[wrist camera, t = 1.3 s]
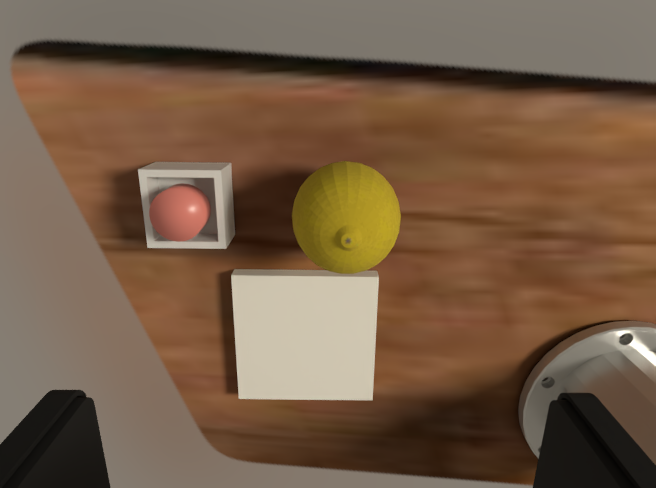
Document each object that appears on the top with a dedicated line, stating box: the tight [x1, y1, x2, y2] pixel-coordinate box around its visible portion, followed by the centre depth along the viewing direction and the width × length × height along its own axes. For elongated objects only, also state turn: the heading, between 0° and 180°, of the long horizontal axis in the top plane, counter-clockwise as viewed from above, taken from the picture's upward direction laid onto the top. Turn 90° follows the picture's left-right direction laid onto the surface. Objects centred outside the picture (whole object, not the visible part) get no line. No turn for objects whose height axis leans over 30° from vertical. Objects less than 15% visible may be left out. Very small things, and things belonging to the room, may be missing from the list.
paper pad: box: [231, 269, 379, 400], centre depth 30 cm, size 9×9×1 cm
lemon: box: [292, 161, 401, 274], centre depth 24 cm, size 6×6×8 cm
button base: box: [138, 162, 235, 249], centre depth 26 cm, size 4×4×3 cm
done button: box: [149, 183, 211, 242], centre depth 25 cm, size 3×3×2 cm
